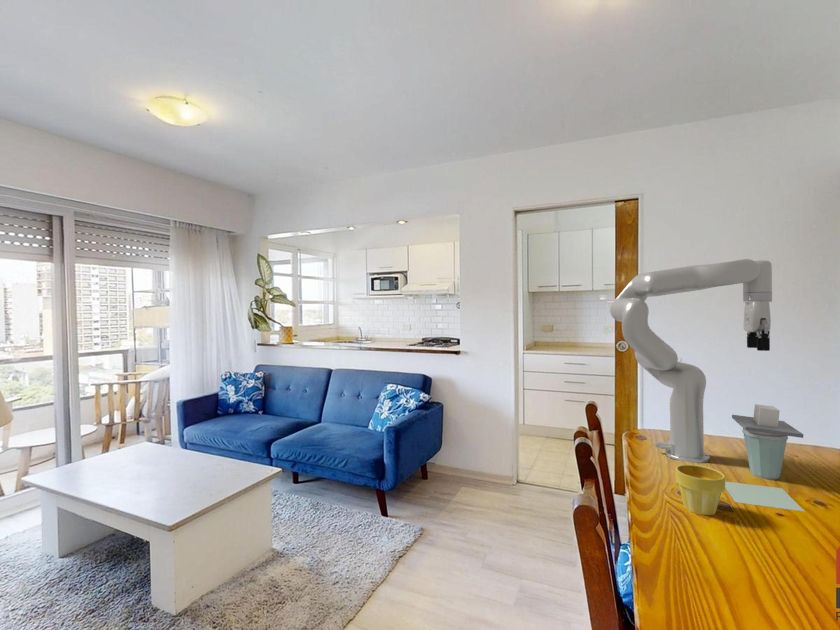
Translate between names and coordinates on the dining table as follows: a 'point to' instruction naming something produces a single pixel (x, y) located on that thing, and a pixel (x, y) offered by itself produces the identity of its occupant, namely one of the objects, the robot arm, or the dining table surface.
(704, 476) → the plant pot
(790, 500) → the mat
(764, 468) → the disposable coffee cup
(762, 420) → the lid
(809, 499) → the dining table surface
